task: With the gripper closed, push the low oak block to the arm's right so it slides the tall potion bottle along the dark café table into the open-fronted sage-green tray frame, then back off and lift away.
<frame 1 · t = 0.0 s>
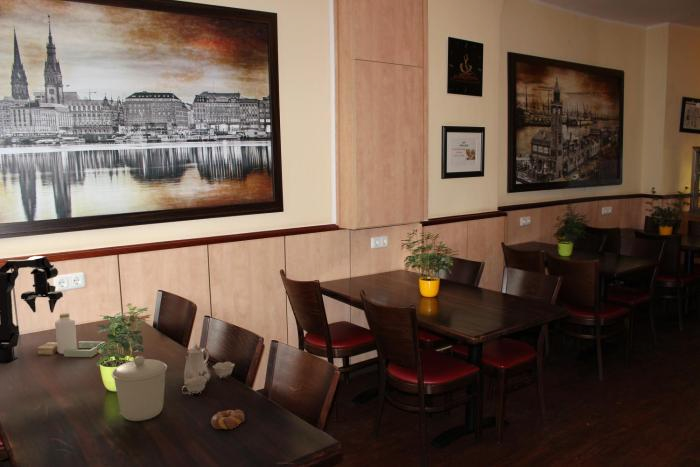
hand: (43, 312, 282), 15 cm above the table, tool pointing down, fingers open, 9 cm apart
braided ring pastry: (228, 424, 191), on the table
chinaware: (203, 384, 225), on the table
potion bottle: (67, 352, 267), on the table
oak block: (50, 352, 268), on the table
canister: (142, 415, 198), on the table
tray frame: (85, 352, 266), on the table
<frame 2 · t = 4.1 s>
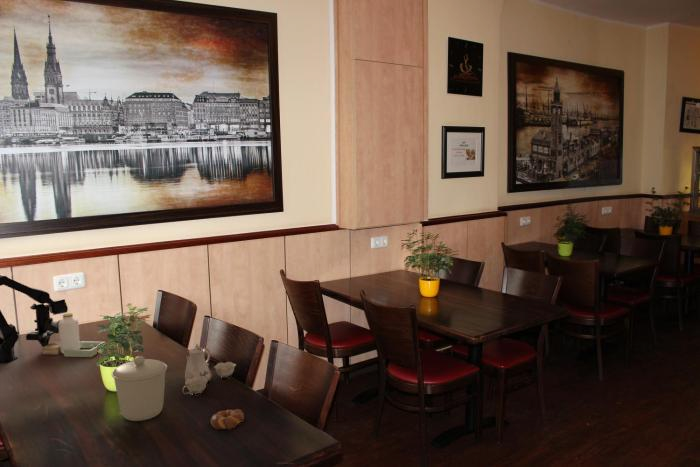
hand: (45, 349, 268), 1 cm above the table, tool pointing down, fingers closed, pressing on oak block
potion bottle: (70, 352, 267), on the table
oak block: (55, 351, 268), on the table, touching gripper
everything else where it was.
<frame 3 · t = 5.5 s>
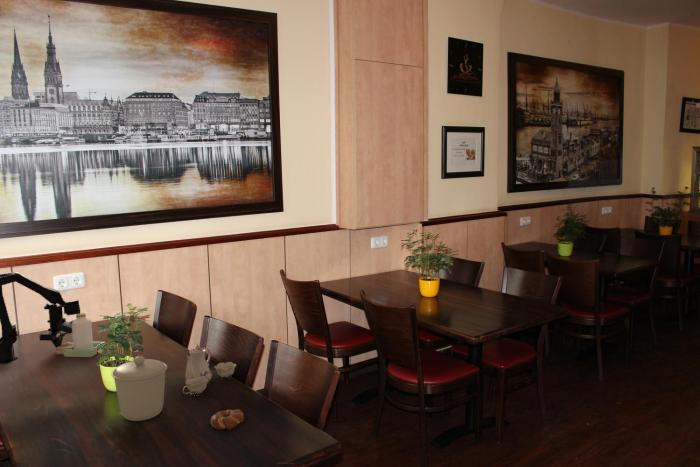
hand: (58, 349, 267), 1 cm above the table, tool pointing down, fingers closed, pressing on oak block
potion bottle: (83, 352, 266), on the table
oak block: (68, 352, 268), on the table, touching gripper
everything else where it was.
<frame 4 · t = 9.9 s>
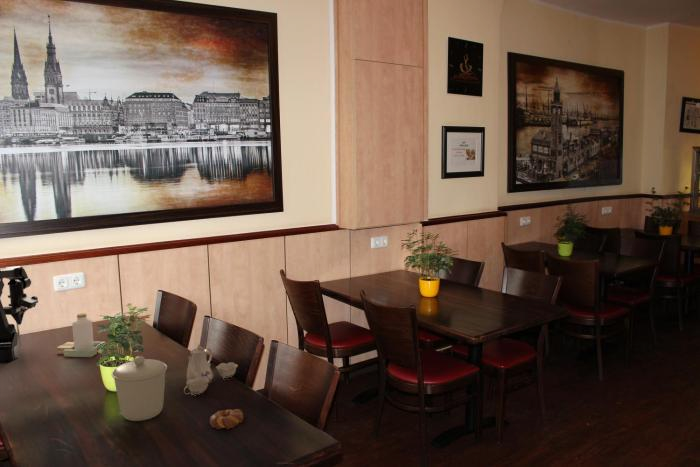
hand: (19, 324, 271), 12 cm above the table, tool pointing down, fingers closed
oak block: (69, 352, 268), on the table
at the end: potion bottle 0.7 cm from the tray frame (horizontally); potion bottle tilted 0°; potion bottle moved 8.3 cm from its start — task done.
